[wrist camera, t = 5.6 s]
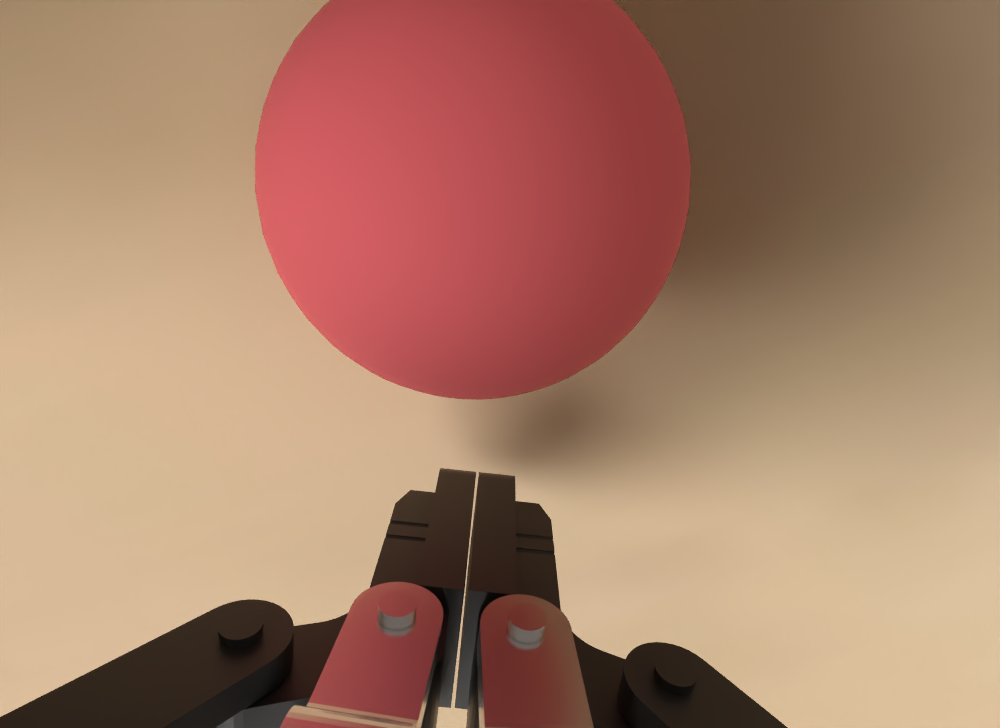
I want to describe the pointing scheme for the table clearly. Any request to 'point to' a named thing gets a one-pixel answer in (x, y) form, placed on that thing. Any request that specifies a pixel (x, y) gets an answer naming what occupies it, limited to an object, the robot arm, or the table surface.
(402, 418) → the table surface
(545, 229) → the ball
